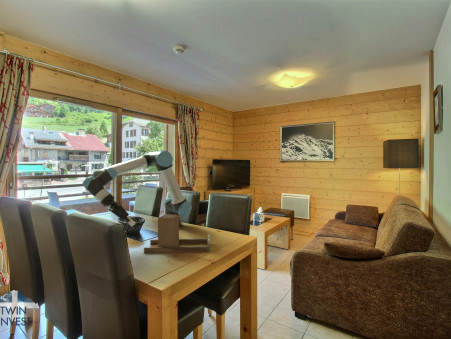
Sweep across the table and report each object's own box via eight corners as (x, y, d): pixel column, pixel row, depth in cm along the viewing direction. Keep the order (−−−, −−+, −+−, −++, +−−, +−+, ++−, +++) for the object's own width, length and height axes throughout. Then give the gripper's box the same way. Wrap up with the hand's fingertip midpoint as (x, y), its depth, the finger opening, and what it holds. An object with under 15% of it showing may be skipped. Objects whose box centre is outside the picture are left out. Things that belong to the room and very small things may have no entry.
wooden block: (173, 251, 143) (172, 218, 143) (157, 250, 145) (156, 217, 145) (179, 245, 153) (179, 214, 152) (165, 244, 155) (164, 213, 154)
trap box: (150, 244, 156) (150, 235, 156) (210, 243, 158) (210, 233, 157) (143, 253, 141) (143, 243, 141) (209, 251, 143) (209, 241, 142)
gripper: (105, 200, 153) (133, 226, 154) (95, 204, 140) (125, 232, 141) (114, 192, 153) (141, 217, 154) (104, 194, 140) (134, 223, 141)
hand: (133, 224), depth 148 cm, fingers closed
